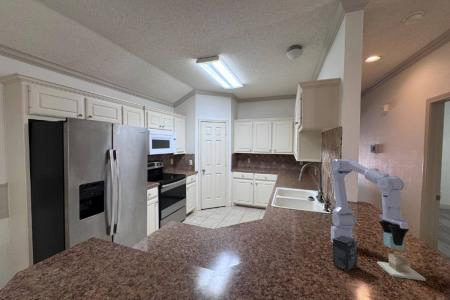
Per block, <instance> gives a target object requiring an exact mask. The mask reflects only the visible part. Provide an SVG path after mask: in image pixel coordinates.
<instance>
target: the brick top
mask: <svg viewBox="0 0 450 300" xmlns="http://www.w3.org/2000/svg"><path fill="white" fill-rule="evenodd" d="M382 233H383V235H382V236H383V244H384V245H385V246H387V248H389V249H396V250H403V251H404V250H405V238H404V239H403V243H402V246H399V245H395V244H394V242H393V237H392V233H386V232H384V231H383V232H382Z"/></svg>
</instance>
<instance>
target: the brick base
mask: <svg viewBox="0 0 450 300" xmlns="http://www.w3.org/2000/svg"><path fill="white" fill-rule="evenodd" d="M387 255H388V263H389V266H390V267H391V268H393V269H394V270H395V271H398V272H405V273H411V271H410V268H411V261H410V259H408V258H407V257H406V256H404V255H402V254H394V253H387Z"/></svg>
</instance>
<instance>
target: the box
mask: <svg viewBox="0 0 450 300" xmlns="http://www.w3.org/2000/svg"><path fill="white" fill-rule="evenodd" d="M357 252H358V251H357V239H355V238H349V237H346V236H343V235H342V236H339V237H336V238H333V243H332V258H333V259H332V265H333V267H336V268H338V269H340V268H341V270H343V269H344V271H345V270H346V271H345V272H349V271H351V270H353V269H355V268H357V267H358V256H357V254H358V253H357ZM354 267H355V268H354Z"/></svg>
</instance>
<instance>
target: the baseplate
mask: <svg viewBox="0 0 450 300" xmlns="http://www.w3.org/2000/svg"><path fill="white" fill-rule="evenodd" d="M376 263H377V265H378V266H379V267H381V268H382V269H383V270H384V271H385V272H386V273H388V274H389V276H391V277H394V278H401V279H409V280H418V281H422V282H423V281H424V282H425V281H426V278H425V277H424V276H422V275H421V274H420V273H418V272H417V271H416V270H414V269H413V268H411V267H410V271H411V273H405V272H398V271H395V270H394V269H393V268H391V267H390V266H389V262H385V261H377V262H376Z"/></svg>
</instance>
